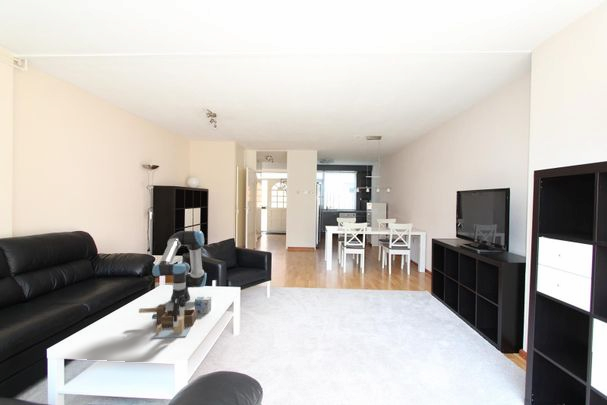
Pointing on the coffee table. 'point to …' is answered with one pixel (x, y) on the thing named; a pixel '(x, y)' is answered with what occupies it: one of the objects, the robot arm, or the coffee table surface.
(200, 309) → the light bulb box
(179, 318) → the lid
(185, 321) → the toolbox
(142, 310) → the key
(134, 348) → the coffee table surface
